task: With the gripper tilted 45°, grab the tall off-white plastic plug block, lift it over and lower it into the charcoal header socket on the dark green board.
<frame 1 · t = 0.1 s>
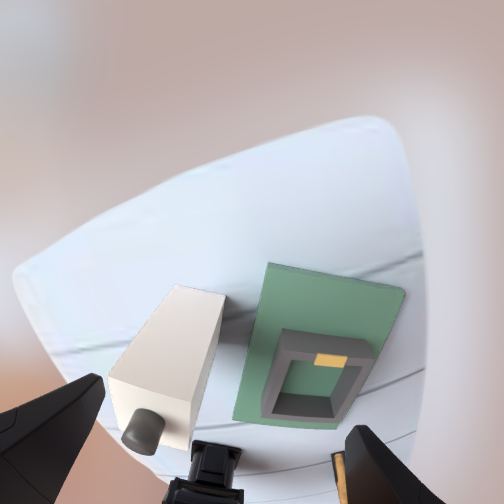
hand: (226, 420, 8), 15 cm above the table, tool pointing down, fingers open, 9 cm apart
plug block: (197, 315, 23), on the table
ammunition clip: (340, 465, 30), on the table
header board: (309, 362, 24), on the table
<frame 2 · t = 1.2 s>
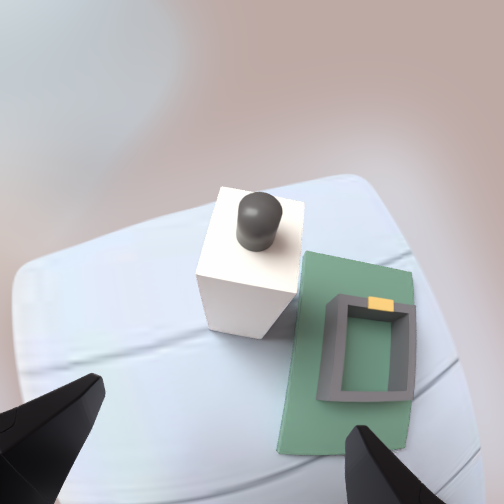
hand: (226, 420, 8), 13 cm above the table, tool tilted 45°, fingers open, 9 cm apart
plug block: (240, 306, 23), on the table
header board: (356, 356, 22), on the table
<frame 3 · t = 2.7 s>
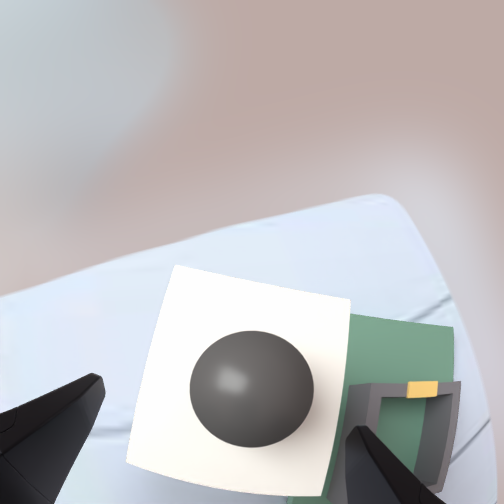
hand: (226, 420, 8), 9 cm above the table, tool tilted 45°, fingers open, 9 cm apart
plug block: (233, 387, 16), on the table
header board: (380, 440, 14), on the table
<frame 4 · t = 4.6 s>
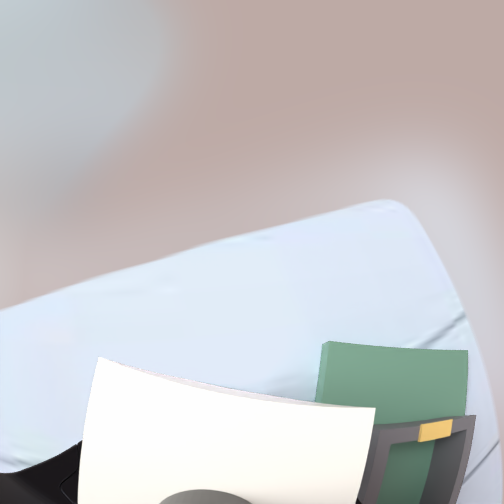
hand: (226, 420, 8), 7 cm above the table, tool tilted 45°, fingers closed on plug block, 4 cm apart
plug block: (221, 428, 13), on the table, touching gripper
header board: (384, 476, 11), on the table
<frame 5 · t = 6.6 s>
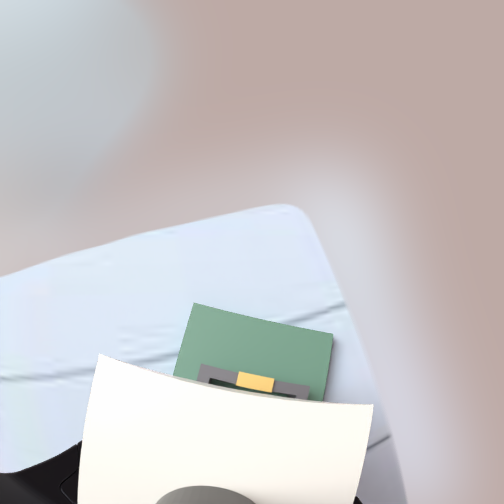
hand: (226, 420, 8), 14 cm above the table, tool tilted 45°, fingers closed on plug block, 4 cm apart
plug block: (221, 428, 13), point 7 cm above the table, touching gripper
header board: (239, 424, 19), on the table
when the fingers open (9 cm above the table, at t = 8.6 s): plug block stays where it is, resting on header board.
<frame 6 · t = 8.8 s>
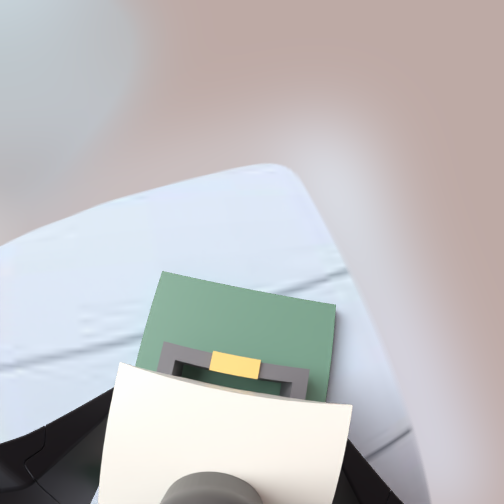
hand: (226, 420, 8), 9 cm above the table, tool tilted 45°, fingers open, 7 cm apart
plug block: (221, 425, 14), point 1 cm above the table, touching header board
header board: (222, 423, 15), on the table
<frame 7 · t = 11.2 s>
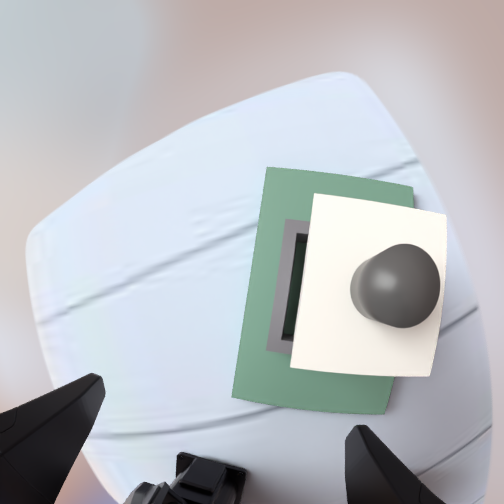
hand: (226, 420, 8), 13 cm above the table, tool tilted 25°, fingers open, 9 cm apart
plug block: (331, 292, 19), point 1 cm above the table, touching header board
header board: (330, 293, 20), on the table
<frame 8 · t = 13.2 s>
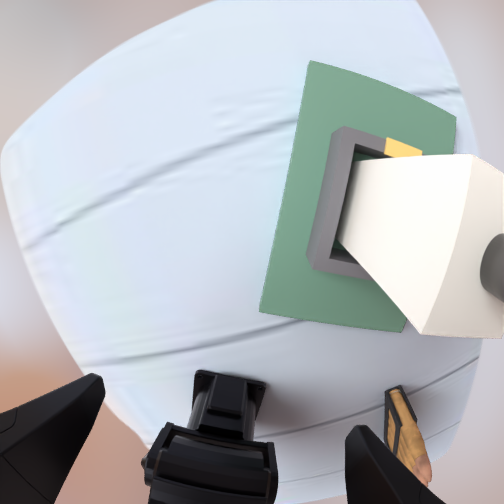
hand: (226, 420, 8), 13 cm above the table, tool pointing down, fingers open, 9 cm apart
plug block: (371, 206, 17), point 1 cm above the table, touching header board
ammunition clip: (391, 414, 24), on the table
header board: (366, 205, 18), on the table
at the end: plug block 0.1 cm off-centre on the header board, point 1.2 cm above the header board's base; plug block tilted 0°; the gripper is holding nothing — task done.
